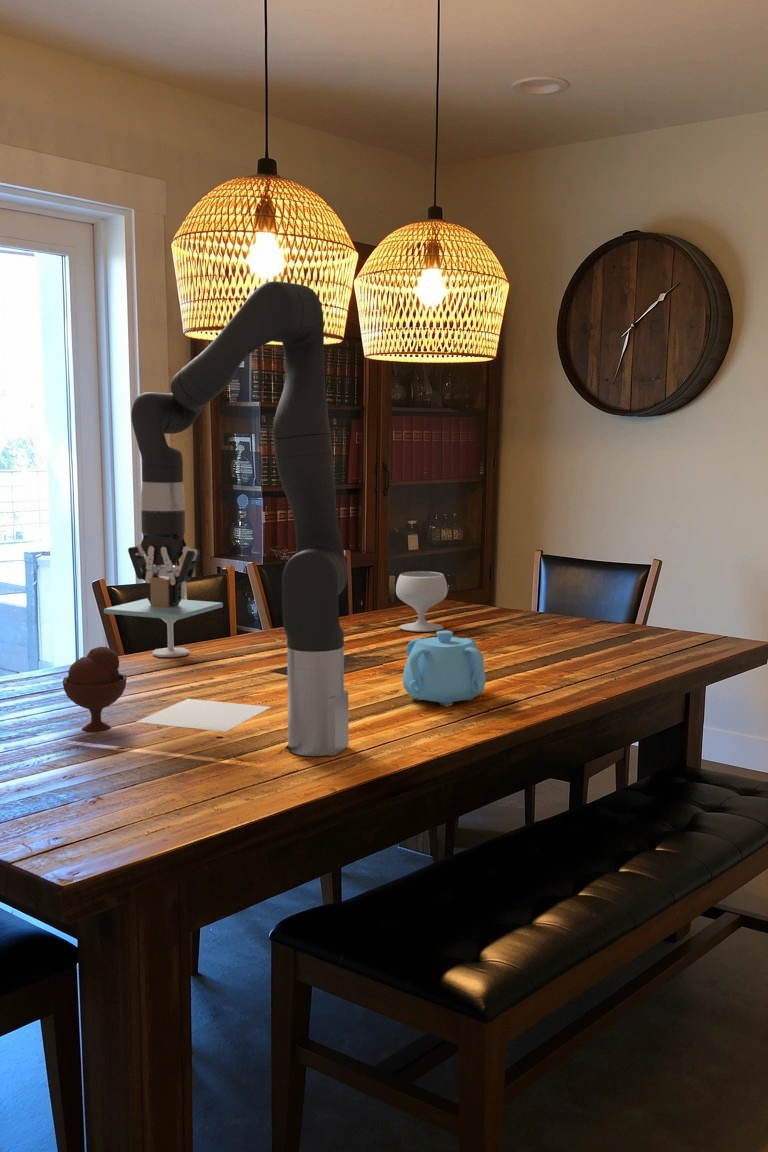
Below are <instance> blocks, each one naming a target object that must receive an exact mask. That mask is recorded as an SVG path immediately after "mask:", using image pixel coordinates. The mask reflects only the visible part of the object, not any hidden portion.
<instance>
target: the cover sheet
mask: <svg viewBox="0 0 768 1152" xmlns="http://www.w3.org/2000/svg"><path fill="white" fill-rule="evenodd" d="M169 585H171V584H170V582H169V577H167V576H159V577H155V578H150V586H151V604H150V601H148V598H147V597H146V598H143V599H142V598H141V599H138V600H135V601H131V602H126V603H121V604H117V605H114V606H109V607H106V608H103V614H107V615H117V616H118V615H121V616H128V617H129V616H132V617H142V618H153V619H154V618H155V619H161V618H163V619H175V620H176V621H179V620H183V619H186V618H190V617H193V616H197V615H199V614H203V613H206V612H210V611H213V610H218V609H220V608H223V607H224V603H223V602H220V601H219V602H218V601H216V602H215V601H206V600H194V599H193V600H192V599H190V600H189V599H187V600H183V599H181V602H179V604H178V605H176V606H170V590H169Z"/></svg>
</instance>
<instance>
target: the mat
mask: <svg viewBox="0 0 768 1152" xmlns="http://www.w3.org/2000/svg"><path fill="white" fill-rule="evenodd" d="M270 708H272V707H271V706H265V705H257V704H256V705H255V704H244V703H236V702H235V703H234V702H225V701H224V702H223V701H216V700H215V701H214V700H203V699H195V698H194V699H193V698H186V699H184V700H181V701H179V702H177V703H174V704H172V705H170V706H168V707H166V708H164V709H162V710H159V711H157V712H154V713H152V714H150V715H148V716H146V717H145V716H144V717H143V718H141V719H139V720H137V721H135V723H138V724H139V723H140V724H141V723H142V724H149V725H158V726H160V725H161V726H168V727H177V728H186V729H195V730H204V731H214V732H223V733H226V732H228V731H229V730H232V729H233V728H235V727H237V726H239V725H241V724H243V723H244V722H246V721H248V720H250V719H253V718H254V717H255V716H258V715H259V714H261V713H263V712H265V711H267V710H268V709H270Z"/></svg>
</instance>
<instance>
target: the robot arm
mask: <svg viewBox="0 0 768 1152" xmlns="http://www.w3.org/2000/svg"><path fill="white" fill-rule="evenodd" d="M324 321H325V320H324V312H323V307H322V303H321V300H320V297H319V296H318V294H317V292H315V291H314V290H313V289H312V288H311V287H309V286H307V285H305V284H304V285H303V284H299V283H292V282H286V281H276V280H275V281H274V280H273V281H268V282H264V283H263V284H261V285H260V286H259V287H257V289H255V290H254V291H253V292H252V293H251V294H250V295H249V296H248V298H247V299H246V300H245V301H244V302H243V304H242V305H241V307H240V308H239V309H238V310H237V312H236V313H235V314H234V316H233V317H232V318H230V320H229V322H228V323H227V324H225V326H224V327H223V328H222V330H221V331H220V332H219V333H218V335H217V336H216V337H215V338H214V340H212V341H211V342H210V343H209V344H208V346H206V348H204V349H203V350H202V351H201V352H200V353H199V354H198V355H197V356H195V357H194V358H193V359H192V360H191V361H189V362H188V363H186V365H185V366H184V367H182V368H181V369H180V370H178V372H177V373H176V374H175V375H174V376H173V378H172V380H171V382H170V391H171V392H170V393H169V392H154V391H149V392H148V391H147V392H142V393H140V394H139V395H138V396H137V397H136V398H135V399H134V402H133V404H132V407H131V415H130V418H131V422H132V423H131V424H132V428H133V432H134V436H135V439H136V442H137V443H136V444H137V447H138V451H139V453H140V457H141V471H142V472H141V475H142V478H141V479H142V480H141V481H142V482H141V483H142V485H141V491H140V492H141V493H140V494H141V495H140V505H141V506H140V507H141V509H140V510H141V511H140V512H141V515H140V516H141V517H140V518H141V534H142V540H141V542H140V544H138V545H136V546H135V545H134V546H129V547H128V549H127V552H128V555H129V558H130V561H131V563H132V566H133V569H134V572H135V575H136V577H137V579H138V580H142V581H145V583H146V584H147V585H146V586H147V587H146V588H147V589H146V591H147V593H146V594H147V595H146V596H147V597H146V599H147V598H148V601H150V604H151V586H150V578H155V577H159V574H160V570H161V569H162V566H165V570H166V572H167V573H168V577H169V582H170V584H171V585H169V590H170V606H176V605H178V604H179V602H181V585H182V583H183V582H189V581H191V580H192V578H193V575H194V573H195V572H194V571H195V568H196V565H197V563H198V560H199V557H200V554H201V552H200V550H199V549H196V548H195V549H193V548H190V547H189V546H188V545H187V543H186V541H185V533H186V513H185V512H186V505H185V503H186V502H185V500H186V498H185V497H186V496H185V488H184V477H183V476H184V468H183V467H184V464H183V463H184V459H183V454H182V452H181V450H179V449H176V448H174V447H171V446H169V445H168V442H167V439H166V435H165V434H167V435H168V434H170V435H174V434H178V433H182V432H183V431H185V430H187V429H188V428H190V427H191V425H192V424H193V423H194V422H195V420H196V419H197V418H198V416H199V415H200V413H201V412H202V410H203V409H204V407H205V405H207V404H209V403H210V402H211V401H212V400H213V399H215V398H216V397H217V396H218V395H220V394H221V393H223V392H224V390H225V389H227V387H228V386H229V385H230V384H231V383H232V381H233V380H234V379H235V377H236V374H237V373H238V370H239V368H240V366H241V364H242V362H243V361H244V360H245V359H246V358H247V357H248V356H249V355H250V354H251V353H253V352H254V351H256V350H258V349H259V348H261V347H263V346H265V345H267V344H269V343H271V342H274V343H281V344H282V348H283V353H284V355H283V356H284V365H285V377H284V384H283V389H282V393H281V396H280V399H279V402H278V405H277V408H276V412H275V415H274V419H273V424H272V437H273V448H274V456H275V457H274V458H275V463H276V469H277V473H278V476H279V480H280V483H281V486H282V489H283V492H284V494H285V496H286V499H287V502H288V504H289V507H290V509H291V513H292V517H293V521H294V529H295V532H294V533H295V546H296V547H295V548H296V551H295V552H296V553H295V554H294V555H292V556H291V557H290V558H289V559H288V561H287V562H286V564H285V566H284V567H283V572H282V576H281V577H282V578H281V599H282V600H281V601H282V603H281V605H282V624H283V629H284V632H285V635H286V646H287V647H286V649H287V650H286V651H287V652H286V654H287V655H286V656H287V657H286V658H287V671H286V672H287V749H288V751H289V752H290V753H292V754H296V755H299V756H306V757H322V756H333V757H334V756H337V755H339V753H342V751H344V750H345V749H346V748H348V747H349V691H348V690H347V689H345V684H344V683H345V677H344V676H345V675H344V674H345V673H344V671H345V669H344V667H345V653H344V651H345V650H344V649H345V647H344V645H345V643H344V642H345V641H344V640H345V637H344V636H345V634H344V630H343V628H342V627H341V624H340V618H339V617H340V613H339V595H340V594H341V593H342V592H343V591H344V590H345V588H346V585H347V582H348V577H349V574H348V573H349V571H348V565H347V564H348V563H347V560H346V555H345V549H344V545H343V540H342V536H341V532H340V526H339V520H338V514H337V498H336V496H337V495H336V482H335V470H334V467H335V466H334V456H333V455H334V454H333V445H332V435H331V427H330V419H329V413H328V412H329V410H328V403H327V402H328V401H327V389H326V388H327V387H326V378H325V349H324V348H325V347H324V345H325V341H324V339H325V333H324V332H325V329H324V327H325V326H324V325H325V324H324V323H325V322H324ZM145 556H146V557H147V560H146V558H145ZM181 557H182V558H183V563H181V561H182V560H181ZM172 565H174V566H172Z"/></svg>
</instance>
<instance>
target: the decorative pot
mask: <svg viewBox="0 0 768 1152" xmlns="http://www.w3.org/2000/svg"><path fill="white" fill-rule="evenodd" d="M435 632H436V636H432V637H427V638H419V637H418V638H414V639H412V640H410V641H409V642H408V644H407V646H406V654H407V655H406V656H407V660H406V662H405V666H404V669H403V674H402V685H403V688H404V690H405V692H406V693H407V695H409V696H410V697H412V698H414V699H415V698H416V699H423V700H424V701H429V702H435V703H439V704H441V705H450V704H453V705H454V703H456V702H460V701H469V700H468V699H473V700H474V698H475V697H478V696H479V695H480V694H481V693H482V692H484V691H485V686H486V671H485V667H484V666H485V665H484V663H485V660H484V655H483V654H482V652H481V650H479V649H478V644H477V643H476V641H475V640H474V639H472V638H469V637H464V638H463V637H462V638H461V637H455V636H453V634H454V632H453V631H451V630H438V631H435ZM441 705H440V706H441Z"/></svg>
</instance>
